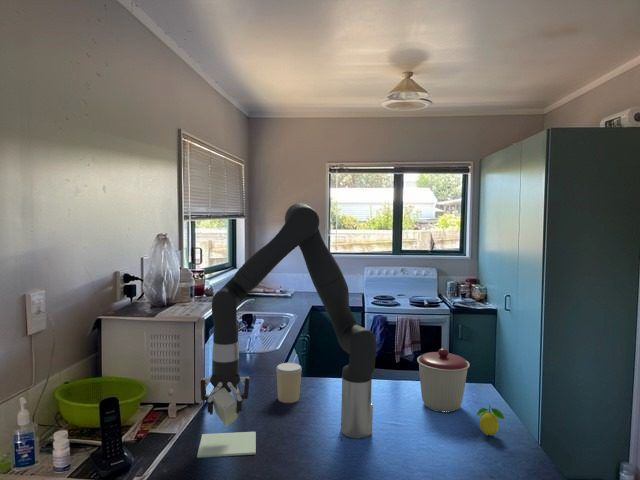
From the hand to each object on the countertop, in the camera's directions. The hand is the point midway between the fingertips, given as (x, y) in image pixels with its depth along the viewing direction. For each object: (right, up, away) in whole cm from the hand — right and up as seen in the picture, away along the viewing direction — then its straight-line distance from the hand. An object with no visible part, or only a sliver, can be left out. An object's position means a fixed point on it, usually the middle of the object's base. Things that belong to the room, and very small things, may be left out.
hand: (224, 412), depth 128 cm
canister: (+71, -10, +30) cm, 78 cm away
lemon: (+80, -11, +9) cm, 82 cm away
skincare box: (-1, -3, +5) cm, 6 cm away
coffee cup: (+16, -8, +34) cm, 39 cm away
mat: (+1, -10, +1) cm, 10 cm away
